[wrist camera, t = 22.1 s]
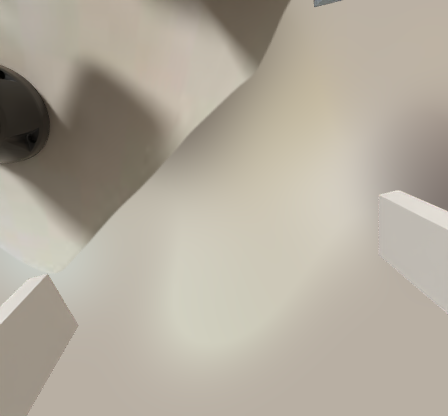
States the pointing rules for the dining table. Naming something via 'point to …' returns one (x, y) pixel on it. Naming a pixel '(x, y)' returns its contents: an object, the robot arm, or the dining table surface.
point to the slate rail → (323, 2)
